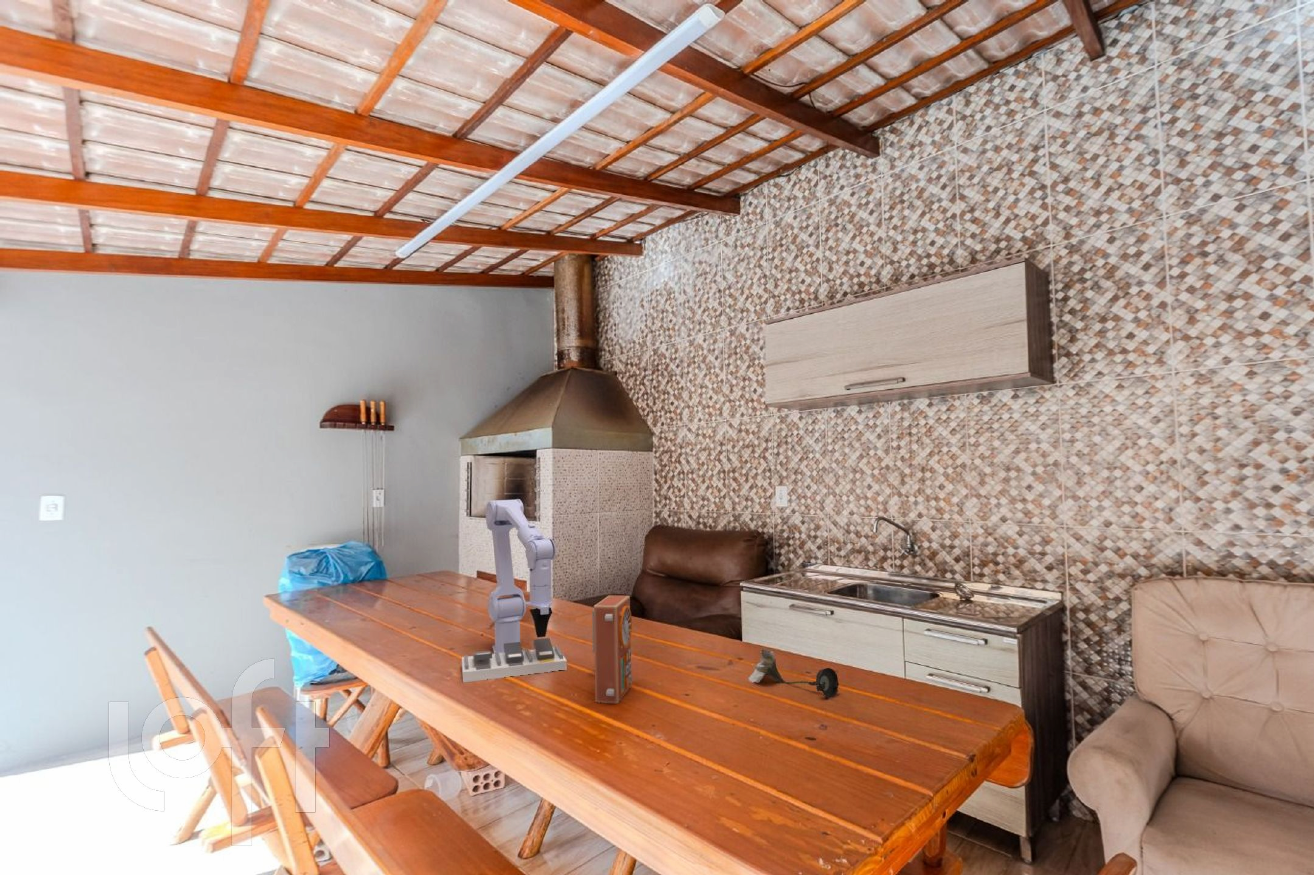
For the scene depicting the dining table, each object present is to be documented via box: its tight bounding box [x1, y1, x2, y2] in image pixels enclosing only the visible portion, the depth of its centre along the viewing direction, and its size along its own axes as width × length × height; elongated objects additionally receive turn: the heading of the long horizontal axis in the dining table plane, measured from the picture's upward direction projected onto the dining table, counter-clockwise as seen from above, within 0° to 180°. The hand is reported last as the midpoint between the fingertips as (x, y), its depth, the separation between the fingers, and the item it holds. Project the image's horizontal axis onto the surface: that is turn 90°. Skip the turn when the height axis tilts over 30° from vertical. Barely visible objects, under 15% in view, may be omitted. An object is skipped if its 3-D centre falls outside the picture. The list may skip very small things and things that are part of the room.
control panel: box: [591, 594, 633, 705], centre depth 149 cm, size 21×7×15 cm
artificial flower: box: [747, 648, 840, 699], centre depth 150 cm, size 9×22×10 cm, turn 40°
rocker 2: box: [532, 637, 555, 660], centre depth 172 cm, size 9×4×1 cm, turn 18°
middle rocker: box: [504, 641, 524, 663], centre depth 170 cm, size 9×4×1 cm, turn 18°
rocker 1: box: [472, 650, 493, 660], centre depth 167 cm, size 9×4×1 cm, turn 18°
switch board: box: [461, 645, 568, 683], centre depth 169 cm, size 14×26×4 cm, turn 108°
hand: (541, 636), depth 169 cm, fingers closed
